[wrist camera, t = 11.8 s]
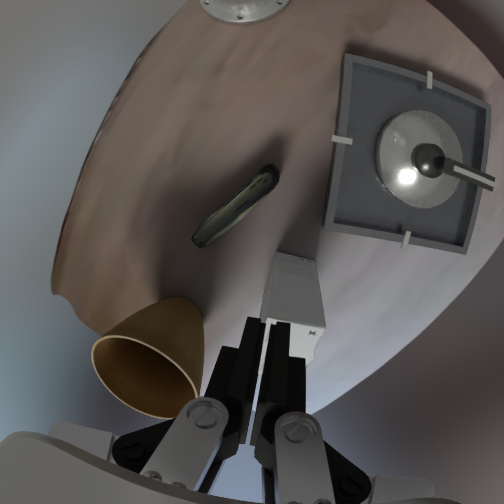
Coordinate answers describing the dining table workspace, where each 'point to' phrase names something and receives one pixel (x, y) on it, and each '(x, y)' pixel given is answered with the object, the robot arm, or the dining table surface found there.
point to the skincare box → (294, 305)
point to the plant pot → (154, 358)
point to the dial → (423, 160)
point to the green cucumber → (236, 206)
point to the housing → (364, 161)
